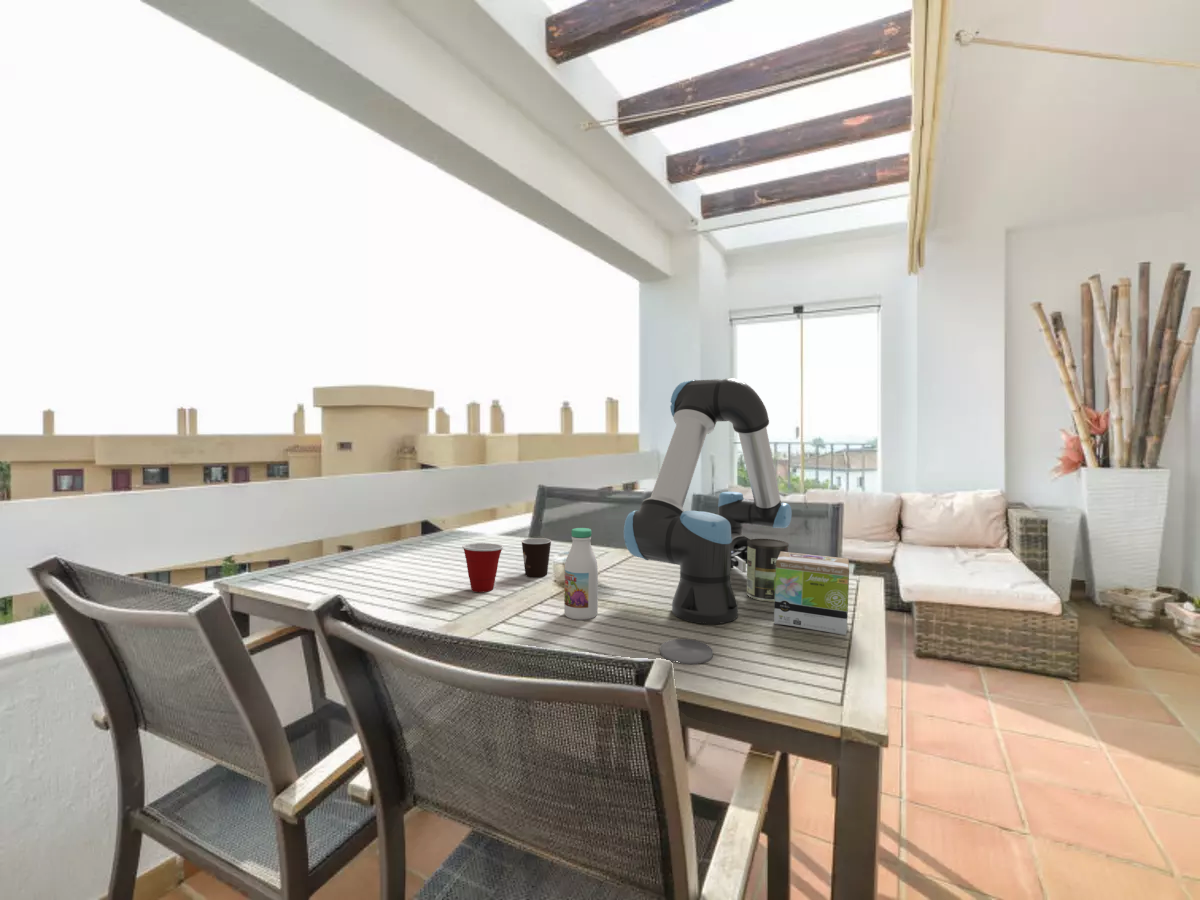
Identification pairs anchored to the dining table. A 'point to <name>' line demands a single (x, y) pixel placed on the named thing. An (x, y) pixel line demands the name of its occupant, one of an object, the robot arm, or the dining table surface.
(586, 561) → the milk bottle
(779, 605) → the tea box
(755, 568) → the coffee can
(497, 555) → the plastic cup
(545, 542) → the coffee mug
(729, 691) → the dining table surface
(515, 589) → the dining table surface
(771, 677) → the dining table surface
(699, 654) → the slate coaster
